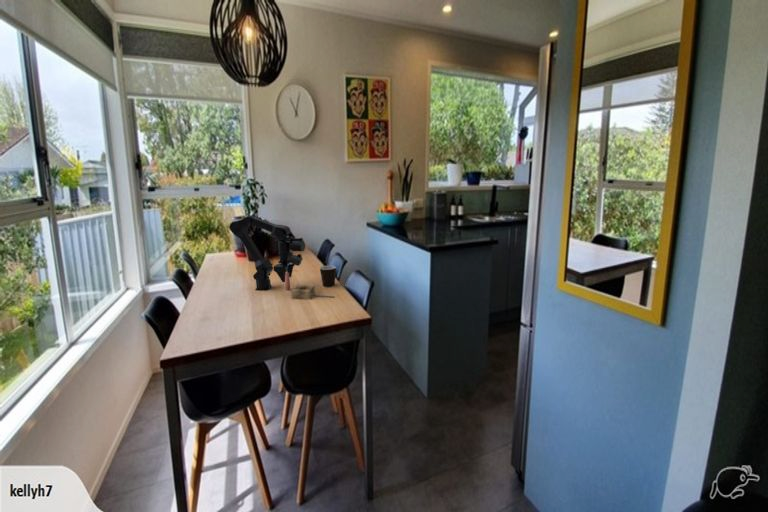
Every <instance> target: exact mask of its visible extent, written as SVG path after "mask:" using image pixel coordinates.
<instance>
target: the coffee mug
mask: <svg viewBox="0 0 768 512" xmlns="http://www.w3.org/2000/svg"><path fill="white" fill-rule="evenodd" d="M319 271H320V277H321V282H322V286H323V287H324V288H333V287H334V286H336V285H335V283H336V273H337V272H336V271H337V267H336V265H323V266H320V267H319ZM332 286H333V287H332Z"/></svg>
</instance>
